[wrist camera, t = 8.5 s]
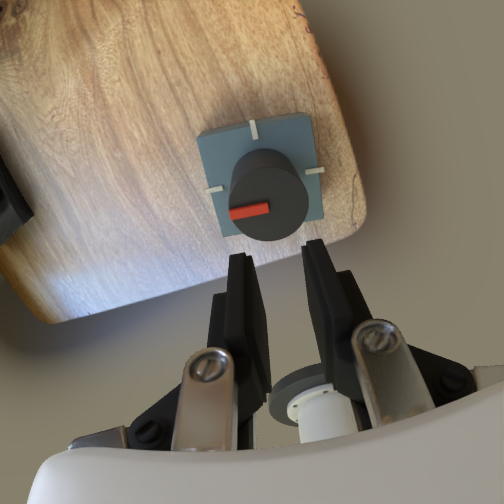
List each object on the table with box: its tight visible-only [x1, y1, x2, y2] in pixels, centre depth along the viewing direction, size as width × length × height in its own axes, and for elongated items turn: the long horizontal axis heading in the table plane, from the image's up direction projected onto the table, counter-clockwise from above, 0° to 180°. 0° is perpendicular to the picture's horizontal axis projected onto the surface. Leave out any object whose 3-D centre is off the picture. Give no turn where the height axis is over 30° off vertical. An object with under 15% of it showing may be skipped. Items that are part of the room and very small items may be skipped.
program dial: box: [228, 148, 309, 241], centre depth 19 cm, size 5×5×5 cm
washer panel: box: [196, 112, 325, 237], centre depth 22 cm, size 9×9×3 cm
